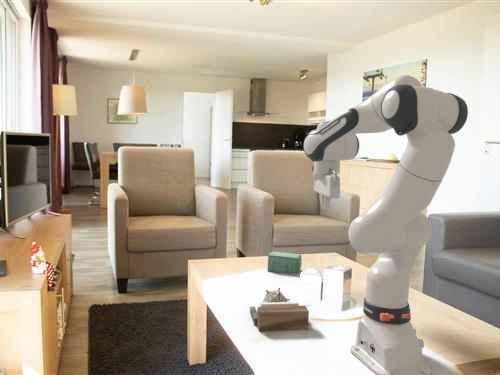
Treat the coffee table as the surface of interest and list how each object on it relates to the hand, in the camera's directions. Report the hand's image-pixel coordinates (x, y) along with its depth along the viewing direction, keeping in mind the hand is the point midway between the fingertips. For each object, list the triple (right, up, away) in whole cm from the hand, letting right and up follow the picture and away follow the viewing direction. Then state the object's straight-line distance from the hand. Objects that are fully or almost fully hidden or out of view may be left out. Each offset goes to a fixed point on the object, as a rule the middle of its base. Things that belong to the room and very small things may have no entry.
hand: (325, 207), depth 162 cm
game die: (-18, -35, -10) cm, 40 cm away
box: (-11, -29, +38) cm, 49 cm away
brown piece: (-17, -35, -16) cm, 42 cm away
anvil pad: (-17, -35, -16) cm, 42 cm away
